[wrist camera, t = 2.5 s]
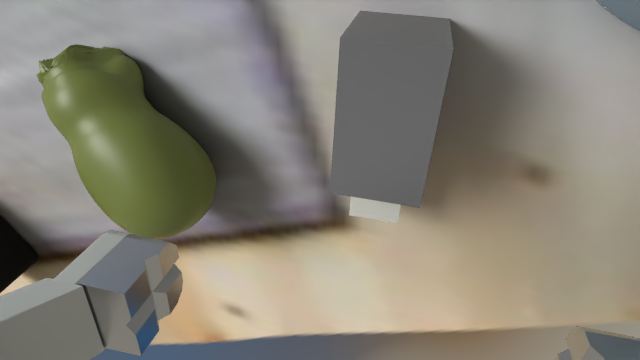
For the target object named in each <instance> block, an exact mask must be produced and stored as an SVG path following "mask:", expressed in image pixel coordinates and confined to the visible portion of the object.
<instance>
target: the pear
mask: <svg viewBox="0 0 640 360" xmlns="http://www.w3.org/2000/svg"><path fill="white" fill-rule="evenodd" d="M39 66H40V73H39V74H37V75H36V76H37V77H38V79H39V81H40V83H41V84H42V85H43V87H44V90H43V92H42V100H43V103H44V106H45V108H46V111H47V114H48V116H49V118H50V120H51V121H52V123H53V124H54V126H55V127H56V128H57V129H58V130H59V132H60V133H61V134H62V135H63V136H64V137H65V139H66V140H67V141H68V143H69V145H70V147H71V150H72V154H73V158H74V162H75V165H76V168H77V171H78V173H79V176H80V178H81V180H82V182H83V184H84V186H85V187H86V189H87V191H88V192H89V194H90V195H91V197H92V198H93V200H94V201H95V202H96V203H97V205H98V206H99V207H100V208H101V209H102V210H103V212H104V213H105V214H106V215H107V216H108V217H109V218H110V219H111V220H112V221H114V222H115V223H116V224H117V225H118V226H120V227H121V228H123V229H124V230H126V231H128V232H130V233H132V234H134V235H138V236H142V237H147V238H151V239H158V238H166V237H171V236H174V235H177V234H179V233H181V232H183V231H185V230H187V229H189V228H190V227H192V226H193V225H194V224H196V223H197V222H198V221H199V220H200V219H201V218H202V217H203V216H204V215H205V213H206V212H207V211H208V209H209V208H210V206H211V204H212V202H213V199H214V196H215V192H216V174H215V170H214V167H213V165H212V162H211V160H210V158H209V157H208V155H207V154H206V152H205V151H204V150H203V148H202V147H201V146H200V145H199V144H198V143H197V142H196V141H195V140H194V139H193V138H192V137H191V136H190V135H189V134H188V133H187V132H186V131H185V130H183V129H182V128H181V127H180V126H178V125H177V124H176V123H174V122H173V121H171V120H170V119H168V118H167V117H165V116H163V115H162V114H160V113H159V112H157V111H156V110H155V109H154V108H153V107H152V106H151V104H150V103H149V102H148V101H147V99H146V98H145V96H144V87H143V77H142V73H141V70H140V68H139V67H138V65H137V64H136V63H135V62H134V61H133V60H132V59H131V58H129V57H126V56H125V55H124V54H123V52H122V51H121V50H120V49H113V48H108V47H103V48H95V47H89V46H83V45H71V46H69V47H68V48H66V49H65V50H64V51H63V52H61V53H60V54H59V55H58V56H56V57H55V58H54V59H51V58H50V59H47V60H45V59H44V60H43V61H39Z"/></svg>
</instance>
